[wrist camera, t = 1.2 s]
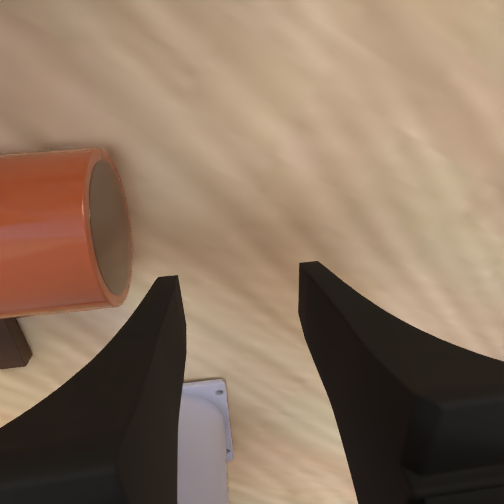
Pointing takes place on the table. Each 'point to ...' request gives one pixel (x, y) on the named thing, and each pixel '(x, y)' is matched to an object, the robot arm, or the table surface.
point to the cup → (62, 233)
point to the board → (12, 345)
